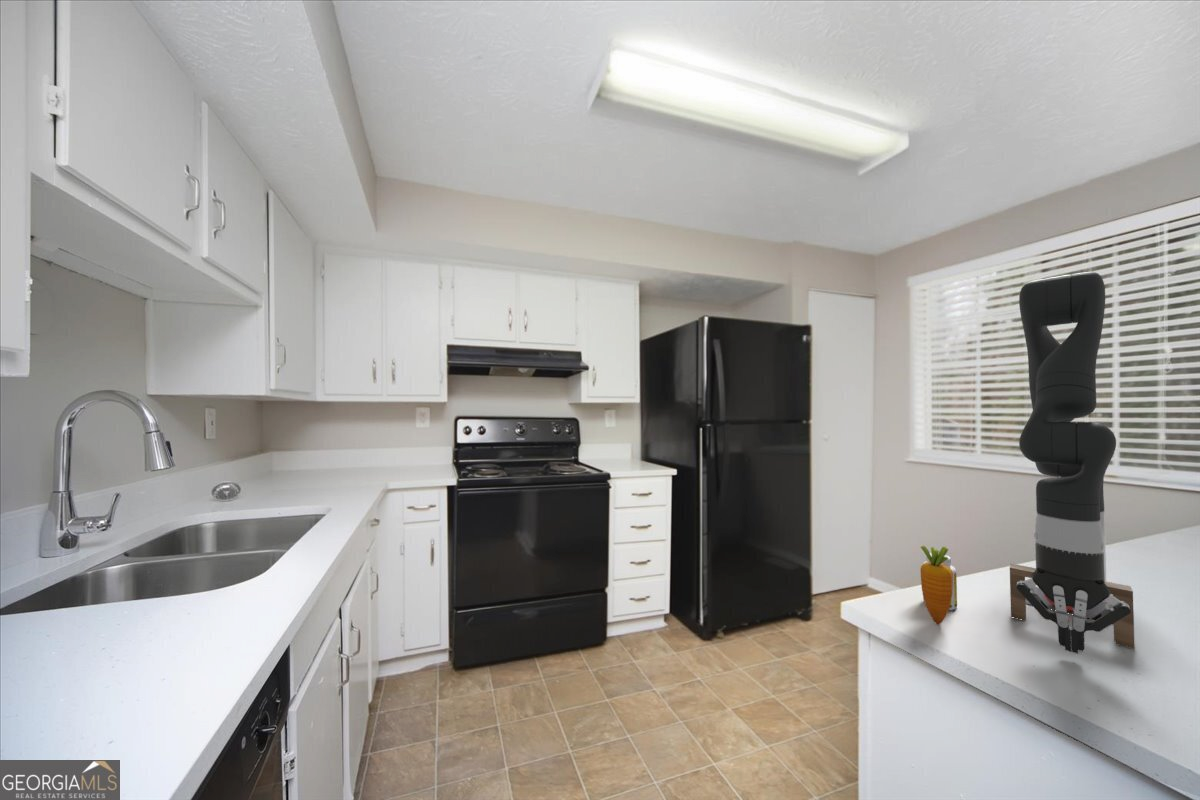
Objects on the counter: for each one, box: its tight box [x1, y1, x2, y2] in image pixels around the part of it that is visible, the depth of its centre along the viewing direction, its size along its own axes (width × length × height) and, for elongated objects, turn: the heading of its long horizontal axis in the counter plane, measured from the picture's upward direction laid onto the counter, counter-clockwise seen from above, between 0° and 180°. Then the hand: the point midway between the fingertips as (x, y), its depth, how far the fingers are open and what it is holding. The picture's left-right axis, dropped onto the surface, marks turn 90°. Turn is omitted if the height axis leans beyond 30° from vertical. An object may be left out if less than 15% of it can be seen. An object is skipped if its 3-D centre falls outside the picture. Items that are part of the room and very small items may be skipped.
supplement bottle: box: [921, 552, 958, 611], centre depth 88 cm, size 6×6×10 cm
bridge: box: [1009, 563, 1135, 649], centre depth 78 cm, size 3×15×10 cm, turn 44°
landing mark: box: [1026, 586, 1114, 626], centre depth 87 cm, size 12×12×1 cm
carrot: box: [920, 545, 953, 625], centre depth 80 cm, size 5×5×15 cm
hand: (1071, 649), depth 69 cm, fingers closed
